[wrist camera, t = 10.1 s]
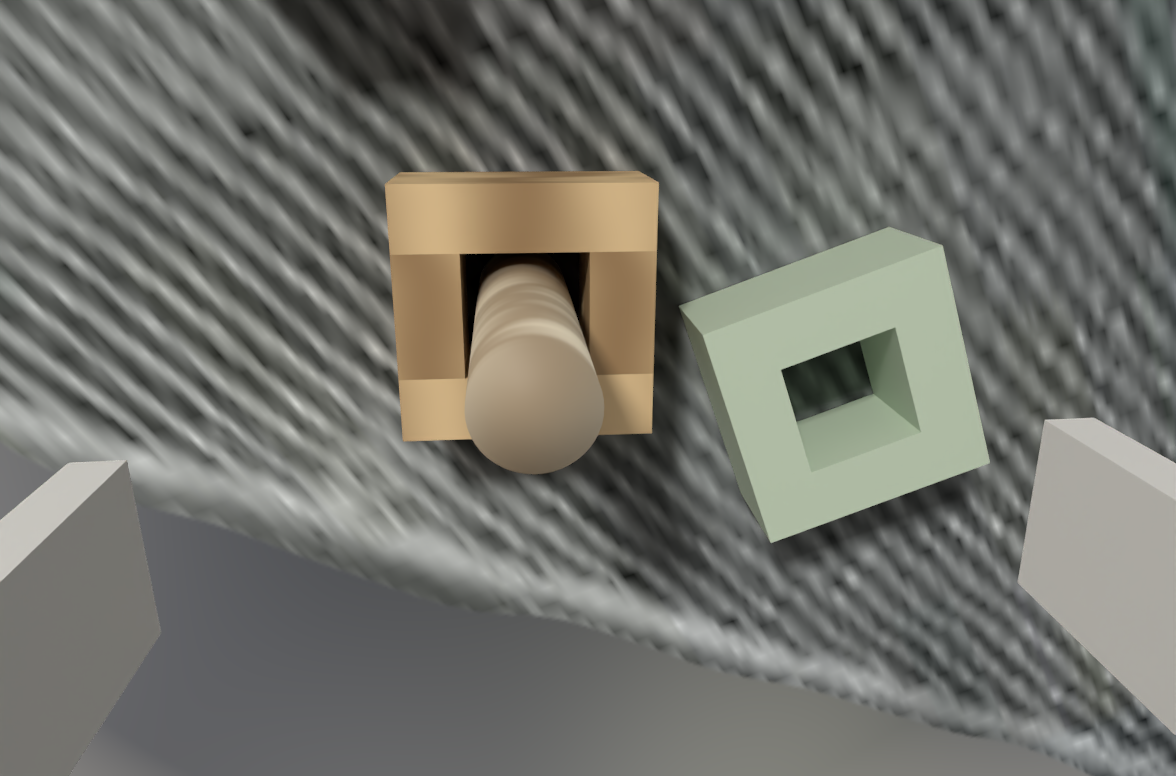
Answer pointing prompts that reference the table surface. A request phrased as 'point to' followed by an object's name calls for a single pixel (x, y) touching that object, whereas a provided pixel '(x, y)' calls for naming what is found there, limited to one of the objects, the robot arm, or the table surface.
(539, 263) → the dowel
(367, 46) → the table surface
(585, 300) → the wooden square ring
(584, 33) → the table surface
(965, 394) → the sage bead
